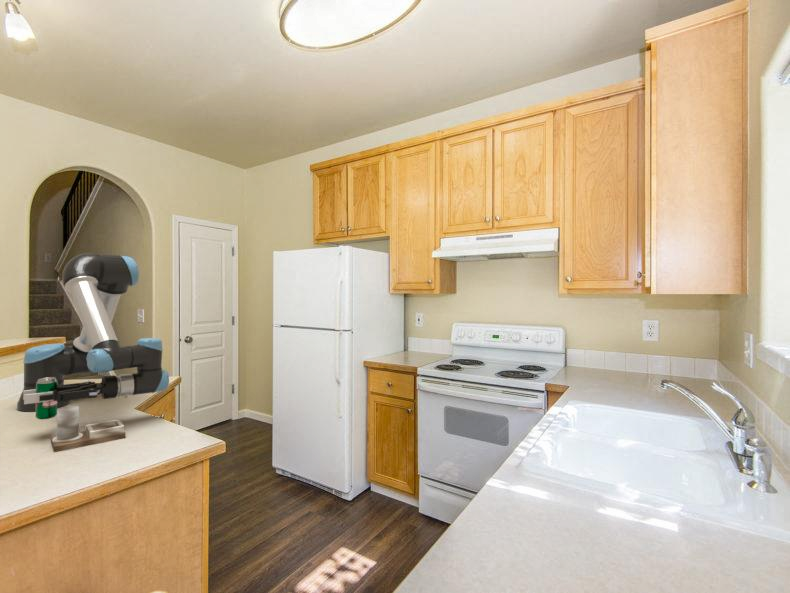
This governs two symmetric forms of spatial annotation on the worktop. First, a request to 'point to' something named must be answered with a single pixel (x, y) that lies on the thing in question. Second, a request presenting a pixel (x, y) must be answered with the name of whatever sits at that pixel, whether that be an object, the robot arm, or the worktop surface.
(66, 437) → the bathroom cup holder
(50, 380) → the soda can
